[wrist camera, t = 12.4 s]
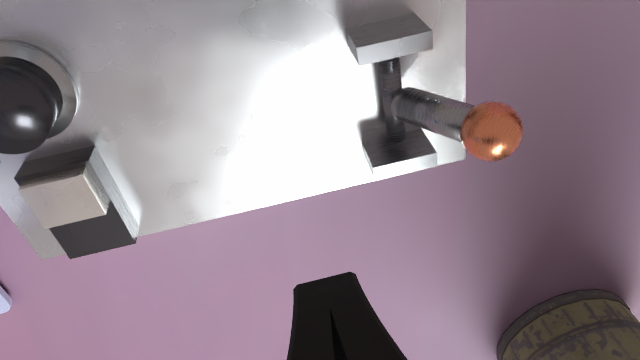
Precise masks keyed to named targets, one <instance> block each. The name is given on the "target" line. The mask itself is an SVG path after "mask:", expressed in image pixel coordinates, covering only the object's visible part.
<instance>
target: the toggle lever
mask: <svg viewBox="0 0 640 360" xmlns="http://www.w3.org/2000/svg"><path fill="white" fill-rule="evenodd" d="M379 68H380V78H381V87H382V96H383V105H384V114H385V123H386V132H387V139H388V141H390V142H401V141H403V140H404V139H405V138H406V130H405V122H406V123H409V124H412V125H414V126H417V127H420V128H423V129H426V130H428V131H431V132H434V133H437V134H440V135H442V136H445V137H448V138H451V139H453V140H456V141H459V142H462V144H463V146H464V148H465V149H466V150H467V151H468V153H470V154H471V155H472V156H474V157H475V158H477V159H480V160H483V161H498V160H502V159H504V158H506V157H508V156H510V155H511V154H512V153H513V152H514V151H515V150H516V149H517V148H518V146H519V145H520V143H521V140H522V137H523V124H522V121H521V119H520V117H519V115H518V114H517V112H516V111H515V110H514V109H513V108H511V107H510V106H508V105H506V104H504V103H501V102H485V103H481V104H479V105H477V106H474V105H471V104H468V103H464V102H461V101H458V100H454V99H451V98H447V97H444V96H441V95H437V94H434V93H430V92H427V91H424V90H420V89H417V88H413V87H405V88H402V81H401V69H400V57H397V58H392V59H388V60H384V61H380V62H379Z"/></svg>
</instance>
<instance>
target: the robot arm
mask: <svg viewBox="0 0 640 360" xmlns="http://www.w3.org/2000/svg"><path fill="white" fill-rule="evenodd" d="M293 290H294V305H293V320H292V329H291V337H290V345H289V350H288V356H287V360H407V358H406V357H405V356H404V354H403V353H402V352H401V350H400V349H399V347H398V346H397V344H396V343H395V342H394V340H393V339H392V337H391V336H390V335H389V333H388V332H387V330H386V329H385V327H384V326H383V324H382V323H381V321H380V320H379V318H378V316H377V315H376V313H375V311H374V310H373V308H372V307H371V305H370V303H369V301H368V299H367V298H366V296H365V294H364V292H363V290H362V288H361V286H360V284H359V281H358V279H357V276H356V274H354V273H352V272H347V273H343V274H339V275H335V276H331V277H327V278H323V279H319V280H315V281H311V282H307V283H303V284H299V285H297V286H296V287H295V288H294V289H293ZM11 305H12V299H11V298H10V296H9V295H8V294H7V293H6V292H5V291H4V289H3V288H2V287H1V286H0V314H1V313H5V312H7V311H8V310H9V309H10V307H11Z"/></svg>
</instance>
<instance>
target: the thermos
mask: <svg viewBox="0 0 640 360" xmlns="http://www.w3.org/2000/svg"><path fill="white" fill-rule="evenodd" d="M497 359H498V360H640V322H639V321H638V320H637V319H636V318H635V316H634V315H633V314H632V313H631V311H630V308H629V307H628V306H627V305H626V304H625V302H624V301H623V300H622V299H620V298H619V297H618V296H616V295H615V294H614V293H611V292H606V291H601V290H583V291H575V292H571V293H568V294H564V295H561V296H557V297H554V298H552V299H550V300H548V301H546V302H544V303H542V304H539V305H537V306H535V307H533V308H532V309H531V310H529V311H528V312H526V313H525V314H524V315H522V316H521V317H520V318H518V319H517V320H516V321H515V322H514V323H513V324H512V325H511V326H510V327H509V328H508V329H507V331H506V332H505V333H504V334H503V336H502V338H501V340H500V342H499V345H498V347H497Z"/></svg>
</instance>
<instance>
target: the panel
mask: <svg viewBox="0 0 640 360" xmlns="http://www.w3.org/2000/svg"><path fill="white" fill-rule="evenodd" d="M397 57H400V69H401V81H402V88H405V87H413V88H417V89H420V90H424V91H427V92H430V93H434V94H437V95H441V96H444V97H447V98H451V99H454V100H458V101H461V102H464V103H466V0H0V205H1V207H2V208H3V209H4V211H5V212H6V213H7V215H8V216H9V217H10V219H11V220H12V221H13V223H14V224H15V225H16V227H17V228H18V229H19V231H20V232H21V233H22V235H23V236H24V237H25V239H26V240H27V241H28V243H29V244H30V245H31V247H32V248H33V249H34V251H35V252H36V253H37V255H38V256H39V257H40V259H41V260H43V259H47V258H51V257H56V256H60V255H64V254H67V255H68V257H69V258H70V259H72V258H76V257H81V256H85V255H89V254H93V253H98V252H102V251H106V250H110V249H114V248H119V247H123V246H127V245H131V244H135V243H136V240H137V237H140V236H144V235H148V234H152V233H156V232H161V231H165V230H169V229H173V228H178V227H182V226H186V225H190V224H194V223H199V222H203V221H207V220H211V219H215V218H220V217H224V216H228V215H232V214H236V213H241V212H245V211H249V210H253V209H257V208H262V207H266V206H270V205H274V204H278V203H283V202H287V201H291V200H295V199H299V198H304V197H308V196H312V195H316V194H321V193H325V192H329V191H333V190H337V189H342V188H346V187H350V186H354V185H358V184H363V183H367V182H371V181H377V180H381V179H385V178H389V177H394V176H398V175H402V174H406V173H410V172H415V171H419V170H423V169H427V168H431V167H436V166H438V165H442V164H447V163H451V162H455V161H459V160H464V159H465V148H464V146H463V144H462V142H459V141H456V140H453V139H451V138H448V137H445V136H442V135H440V134H437V133H434V132H431V131H428V130H426V129H423V128H420V127H417V126H414V125H412V124H409V123H406V122H405V130H406V138H405V139H404V140H403V141H401V142H390V141H388V139H387V132H386V123H385V114H384V105H383V96H382V87H381V78H380V68H379V62H380V61H384V60H388V59H392V58H397Z"/></svg>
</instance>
